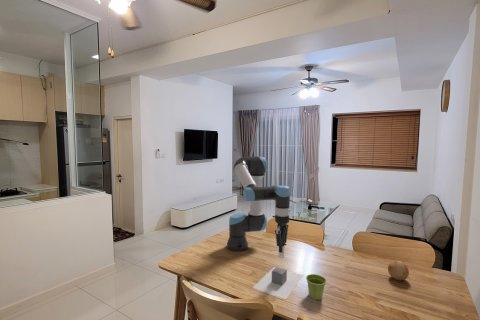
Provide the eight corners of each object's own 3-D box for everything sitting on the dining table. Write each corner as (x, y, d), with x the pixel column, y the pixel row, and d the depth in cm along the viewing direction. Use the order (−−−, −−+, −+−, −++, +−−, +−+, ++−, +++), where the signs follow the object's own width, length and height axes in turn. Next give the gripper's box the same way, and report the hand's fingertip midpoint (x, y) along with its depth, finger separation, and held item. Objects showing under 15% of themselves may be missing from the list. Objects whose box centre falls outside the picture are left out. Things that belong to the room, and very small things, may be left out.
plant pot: (310, 288, 128) (310, 271, 127) (328, 295, 122) (329, 278, 121) (302, 297, 121) (302, 279, 120) (321, 305, 115) (321, 286, 114)
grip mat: (252, 288, 128) (252, 287, 128) (274, 267, 150) (274, 266, 150) (285, 300, 118) (285, 299, 118) (303, 276, 140) (303, 275, 140)
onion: (398, 285, 131) (399, 266, 130) (383, 275, 140) (383, 258, 140) (413, 282, 133) (414, 264, 133) (397, 273, 143) (397, 256, 142)
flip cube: (276, 277, 138) (271, 282, 133) (276, 266, 138) (271, 271, 133) (286, 280, 135) (282, 285, 130) (286, 269, 134) (282, 274, 129)
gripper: (283, 219, 127) (282, 264, 129) (293, 212, 138) (292, 254, 140) (270, 216, 131) (269, 260, 133) (280, 210, 142) (280, 251, 144)
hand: (281, 257), depth 136 cm, fingers closed
